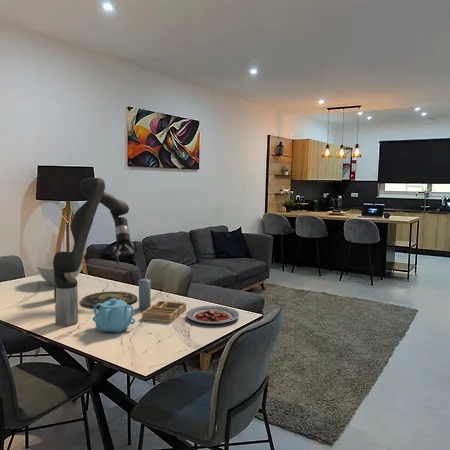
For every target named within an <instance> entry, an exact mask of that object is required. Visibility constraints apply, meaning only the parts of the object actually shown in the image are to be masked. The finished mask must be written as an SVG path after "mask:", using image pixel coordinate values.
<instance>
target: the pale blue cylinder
mask: <svg viewBox="0 0 450 450" xmlns="http://www.w3.org/2000/svg"><path fill="white" fill-rule="evenodd" d="M151 285H152V283H151V279H150V278H140V279H138V309H139V310H140V311H145V310H146V309H148V308H149V307H151V306H152V305H151V304H152V301H151V299H152V297H151V296H152V295H151V287H152V286H151Z"/></svg>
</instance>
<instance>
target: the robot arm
mask: <svg viewBox="0 0 450 450" xmlns="http://www.w3.org/2000/svg"><path fill="white" fill-rule="evenodd" d="M79 189H80V190H79V191H80V193H81V194H82V195H83V196H85V197H87V198H88V199H87V200H86V201H85V202H84V203H83V204H82V205H81V206H79V208H78V209H77V210H76V211H75V212H74V214H73V217H72V219H71V222H70V226H69V227H70V231H71V235H72V238H73V242H74V244H73V248H72V251H58V252H56V253H55V255H54V257H53V260H52V261H53V269H54V280H55V283H56V299H55V301H56V304H55V305H54V314H55V315H54V316H55V326H61V327H69V326H73V325H75V324H77V323H79V310H78V309H79V307H78V306H79V304H78V303H79V302H78V301H79V300H78V280H77V279H76V278H73V277H71V276H70V275H69V274H68V273H67V272H76V271H77V270H78V269H79V267H80V265H81V263H82V260H83V256H84V252H85V246H86V243H87V240H88V238H89V237H88V236H89V234H90V232H91V231H90V230H91V228H92V224H93V222H94V218H95V215H96V212H97V209H98V207H99V204H101V205H103V206H104V207H105V208H106V209H108V210H109V212H110V215H111V217H112V219H113V222H114V228H115V229H114V230H115V231H114V232H115V242H116V245H115V246H114V245H111V246H110V251H111V252H110V255H111V257H112V258H115V259H114V260H115V262H116V264H120V260H119V259H120V258H119V256H120V255H121V254H123V253H126V252H127V253H128V252H130V253H131V255H132V256H131V257H132V261H135V260H136V254H137V253H139V248H138V244H137V242H136V241H133V242H131V237H130V234H131V233H130V230H129V225H128V220H127V218H126V217H125V216H124V215H126V214H128V213H129V210H130V207H129V205H128V203H126V202H125V201H123V200H121V199H117V198H116V197H114V196H113V195H112V194H110V193H108V192H106V191H105V190H106V182H105V180H104V179H103V178H101V177H88V178H83V179H81V181H80V184H79ZM132 246H133V247H134V250H133V249H132ZM115 251H116V252H115Z"/></svg>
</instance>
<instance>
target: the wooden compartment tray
mask: <svg viewBox="0 0 450 450" xmlns="http://www.w3.org/2000/svg"><path fill="white" fill-rule="evenodd" d="M186 311H187V303H185V302H176V301H168V300H166V301H164V300H158V301H157V302H156V303H154V304H153V305H151V307H149V308H148V309H146V310H142V312H141V313H142V314H141V315H142V316H141V317H142V318H141V319H142V320H145V321H155V322H163V323H170V324H171V323H174V321H175V320H177V318H179V317H180V316H181V315H182V314H183V313H185V312H186Z"/></svg>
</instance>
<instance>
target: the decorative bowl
mask: <svg viewBox="0 0 450 450" xmlns="http://www.w3.org/2000/svg"><path fill="white" fill-rule="evenodd" d="M83 265H84V264H83V262H81V265H80V267H79V269H78V270H77V271H76V272H71V277H73V278H75V279H76V278H78V276H79V274H80V273H81V271H82V268H83ZM36 269H37V270H38V273H39V274H40V276H41V277H42V279H44V280H45V281H46V282H48V283H50V285H52V286H54V269H53V260H52V261H47V262H42V263H39V264H37V266H36Z"/></svg>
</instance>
